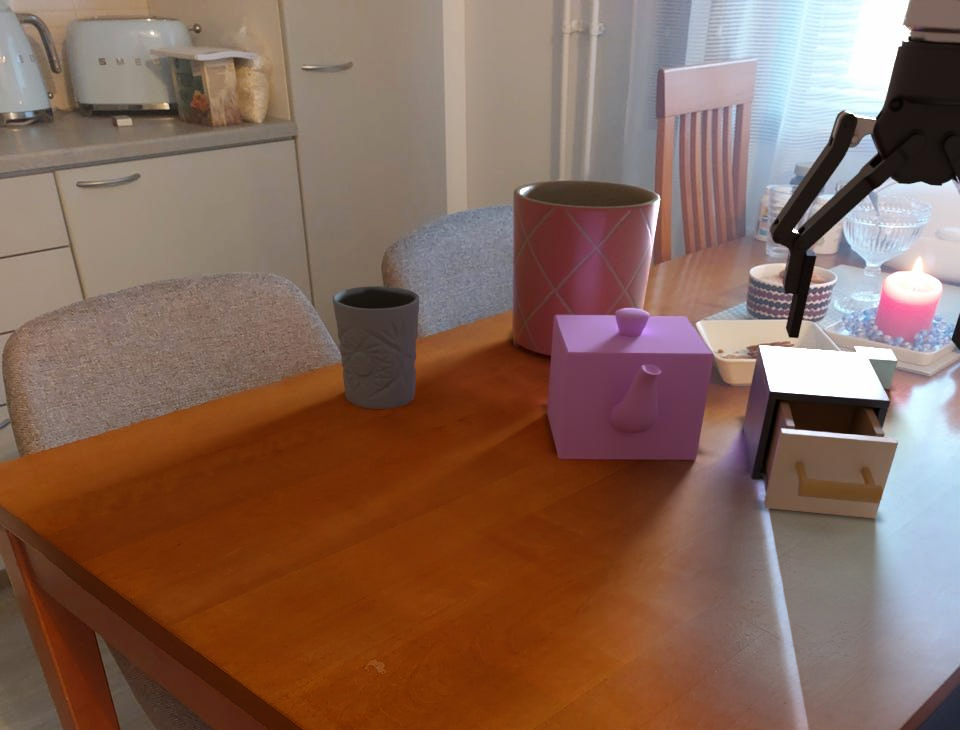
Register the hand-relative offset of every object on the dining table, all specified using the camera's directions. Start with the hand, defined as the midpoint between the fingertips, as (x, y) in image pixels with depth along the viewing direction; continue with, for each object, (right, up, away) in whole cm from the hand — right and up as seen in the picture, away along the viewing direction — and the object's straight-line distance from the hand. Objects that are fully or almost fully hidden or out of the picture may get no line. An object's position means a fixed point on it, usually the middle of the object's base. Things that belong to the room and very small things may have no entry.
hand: (874, 339), depth 78 cm
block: (+17, +8, +43) cm, 47 cm away
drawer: (+1, -11, +15) cm, 19 cm away
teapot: (-17, -3, +28) cm, 33 cm away
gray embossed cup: (-46, +5, +37) cm, 59 cm away
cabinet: (+2, -5, +25) cm, 26 cm away
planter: (-20, +17, +54) cm, 60 cm away
